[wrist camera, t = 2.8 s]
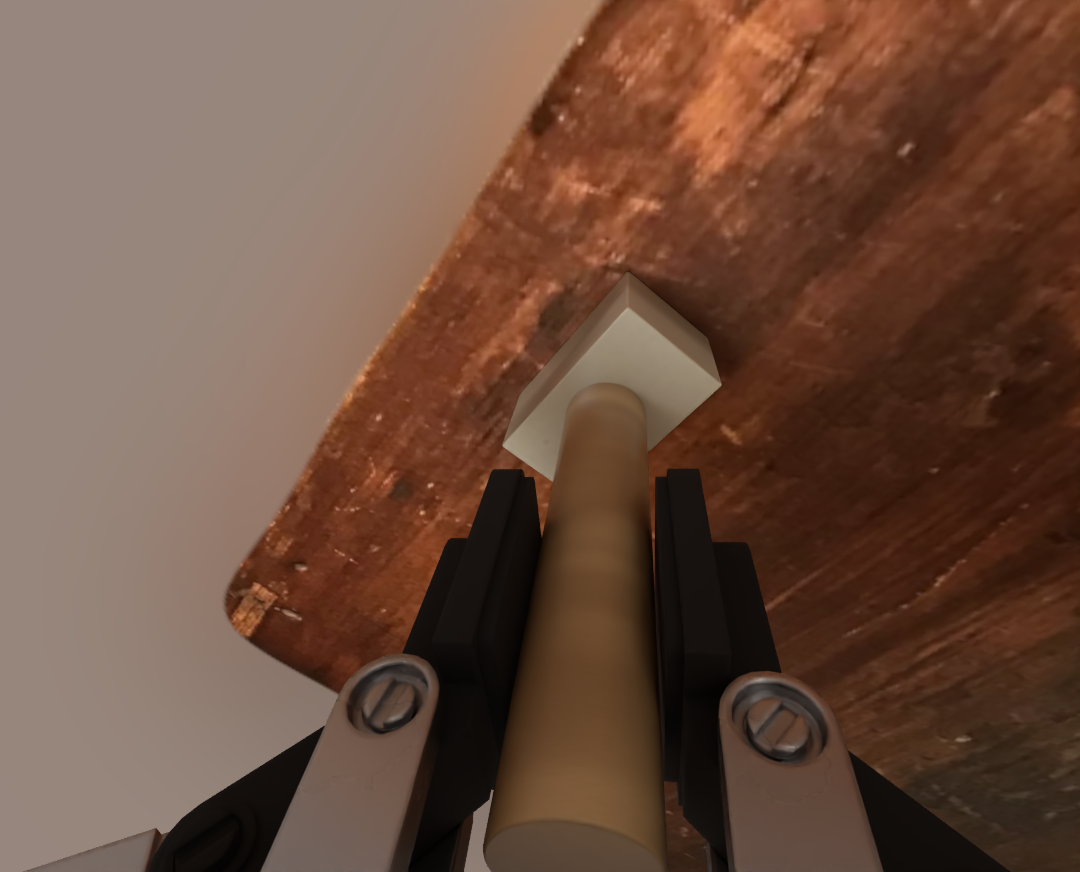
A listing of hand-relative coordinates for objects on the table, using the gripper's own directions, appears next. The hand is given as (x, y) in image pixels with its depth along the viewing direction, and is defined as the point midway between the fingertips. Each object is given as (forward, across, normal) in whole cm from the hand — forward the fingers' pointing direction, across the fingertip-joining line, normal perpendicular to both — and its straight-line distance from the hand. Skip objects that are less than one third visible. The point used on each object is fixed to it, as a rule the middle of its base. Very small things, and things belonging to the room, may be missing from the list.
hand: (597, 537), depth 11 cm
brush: (+8, 0, 0) cm, 8 cm away
